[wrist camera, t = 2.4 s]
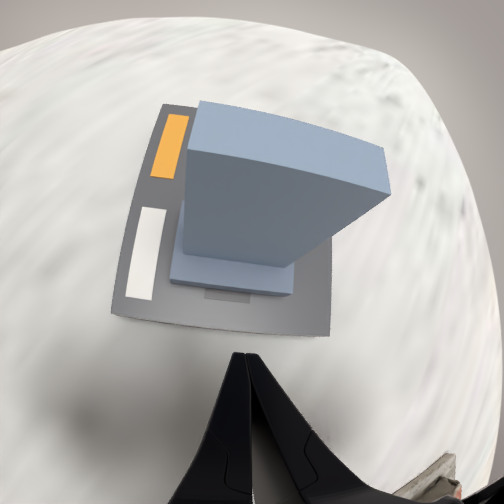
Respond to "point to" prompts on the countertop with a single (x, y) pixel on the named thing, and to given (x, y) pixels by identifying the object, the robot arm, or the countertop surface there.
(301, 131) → the switch lever
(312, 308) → the switch box
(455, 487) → the packaged product
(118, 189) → the countertop surface
